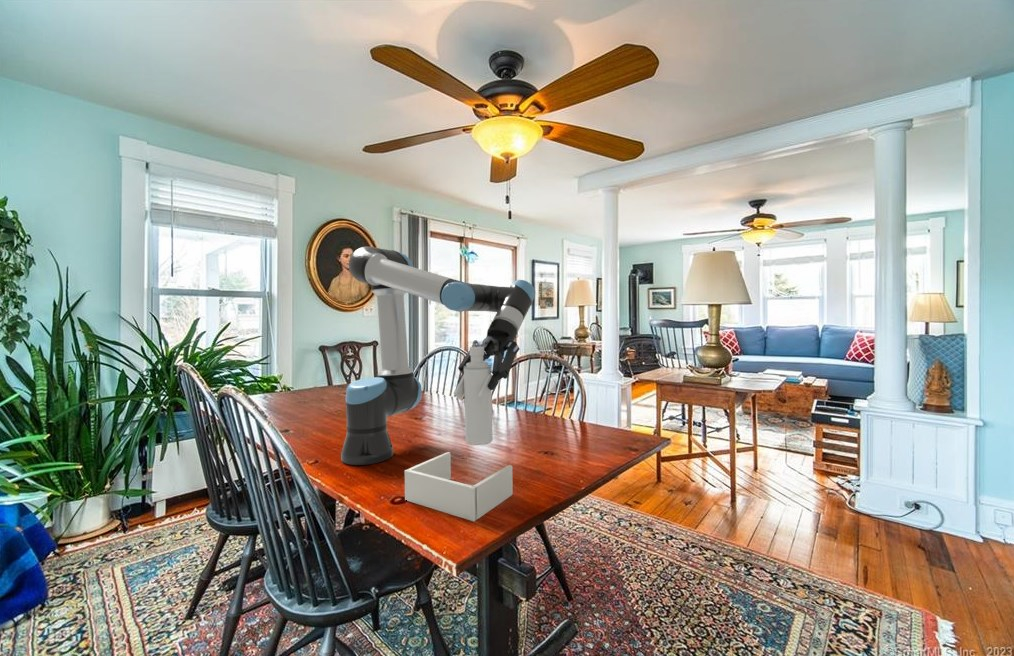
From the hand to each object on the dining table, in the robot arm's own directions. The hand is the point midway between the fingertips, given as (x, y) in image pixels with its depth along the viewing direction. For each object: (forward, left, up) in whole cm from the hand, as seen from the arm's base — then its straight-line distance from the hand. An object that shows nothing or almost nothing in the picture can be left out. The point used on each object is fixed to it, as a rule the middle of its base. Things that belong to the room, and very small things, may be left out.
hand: (469, 397), depth 103 cm
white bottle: (0, +4, -12) cm, 12 cm away
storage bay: (-1, -3, -23) cm, 23 cm away
